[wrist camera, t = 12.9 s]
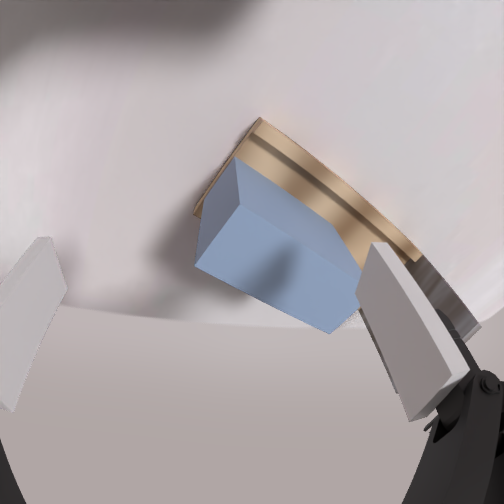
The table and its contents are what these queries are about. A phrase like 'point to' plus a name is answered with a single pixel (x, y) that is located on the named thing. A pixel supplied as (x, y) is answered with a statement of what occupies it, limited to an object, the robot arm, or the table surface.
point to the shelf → (344, 216)
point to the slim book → (276, 249)
